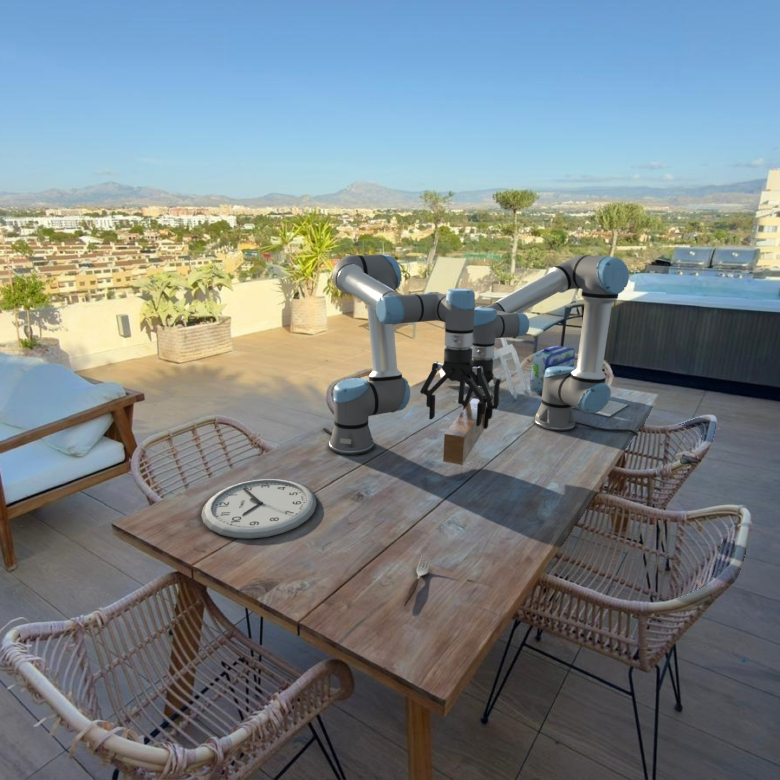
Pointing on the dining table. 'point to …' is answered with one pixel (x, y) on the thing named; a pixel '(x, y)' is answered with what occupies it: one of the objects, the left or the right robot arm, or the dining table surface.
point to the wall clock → (258, 508)
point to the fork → (420, 572)
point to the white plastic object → (502, 357)
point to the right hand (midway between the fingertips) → (476, 425)
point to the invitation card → (611, 408)
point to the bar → (463, 434)
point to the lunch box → (549, 364)
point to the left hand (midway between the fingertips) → (454, 421)
